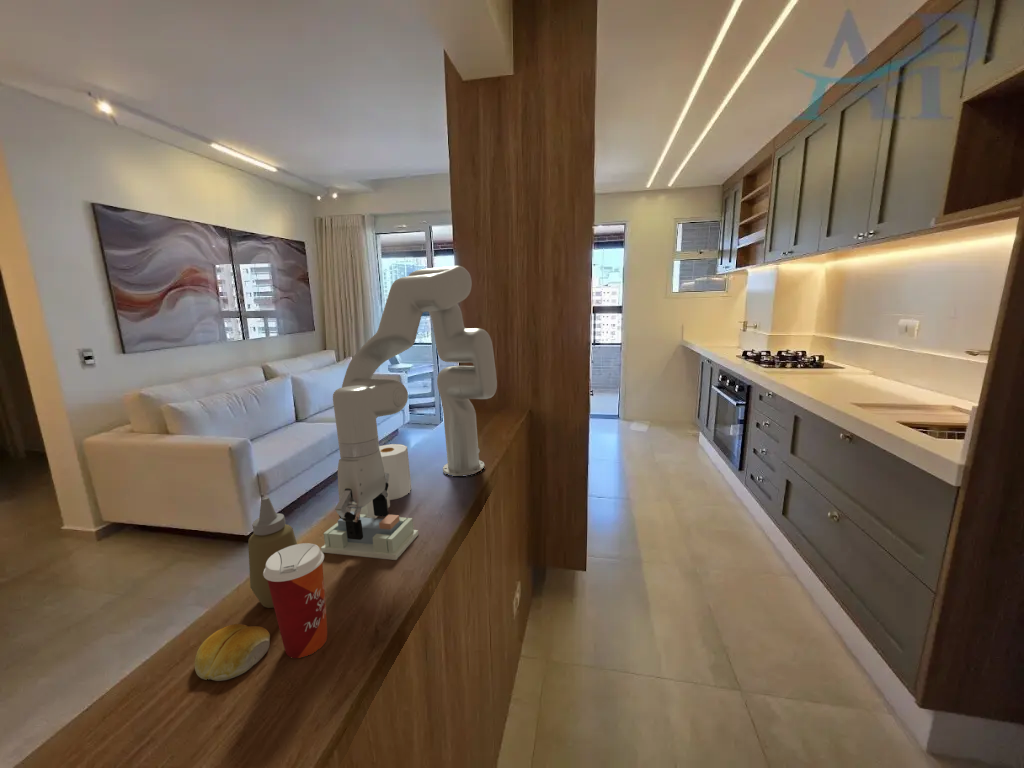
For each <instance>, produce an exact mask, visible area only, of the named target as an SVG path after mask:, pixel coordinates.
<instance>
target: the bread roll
mask: <svg viewBox="0 0 1024 768" xmlns="http://www.w3.org/2000/svg"><path fill="white" fill-rule="evenodd" d="M270 638H271V634H270V632H269V631H268V630H267V628H266V627H265V628H264V627H263V626H255V625H254V626H253V625H252V626H248V625H247V624H243V623H232V624H228V625H227V626H224V627H222V628H219V629H218V630H216V631H214V632H213V633H211V635H209V636H208V637H207V638H206V639H204V641H202V643H201V645H199V648H198V650H197V652H196V655H195V659H194V670H195V673H196V675H197V676H198V677H199V678H200V679H201V680H206V681H207V679H208V680H212V681H214V682H215V681H216V682H220V681H221V682H222V681H228V680H231V679H233V678H236V677H238V676H242V675H243V674H245V673H246V672H248V671H249V670H250V669H251V668H252V667H254V666H255V665H256V664H257V663H258V662H259V661H260V660H261V659H262V658H263V657H264V656H265V654H267V652H268V651H269V648H270Z"/></svg>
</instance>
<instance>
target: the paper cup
mask: <svg viewBox="0 0 1024 768" xmlns="http://www.w3.org/2000/svg"><path fill="white" fill-rule="evenodd" d="M324 559H325V554H324V553H323V552H322V551H321V547H320V546H318V545H317V544H315V543H308V542H302V543H297V544H296V545H292V546H289V547H286V548H284V549H282V550H280V551H277V552H276V553H274V554H273V555H272V556H270V558H269V559H268V560H267V562H266V567H265V569H264V572H263V576H264V578H265V579H267V581H268V585H269V589H270V593H271V597H272V601H273V605H274V608H273V609H274V612H275V613H274V614H275V616H276V621H277V625H278V629H279V633H280V637H281V640H282V644H283V648H284V651H285V654H286V655H287V656H288V657H289V658H291V657H292V658H291V659H302V658H301V657H303V658H305V657H304V656H307V657H309V656H311V655H313V654H315V653H317V652H318V651H319V650H320V649H321V648H323V646H324V645H325V643H326V642H327V639H328V620H327V605H326V595H325V594H326V593H325V592H326V591H325V582H324V581H325V580H324V566H323V562H324ZM318 649H319V650H318ZM317 650H318V651H317ZM314 652H315V653H314ZM312 653H313V654H312ZM310 654H311V655H310ZM308 655H309V656H308Z"/></svg>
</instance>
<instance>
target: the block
mask: <svg viewBox="0 0 1024 768" xmlns="http://www.w3.org/2000/svg"><path fill="white" fill-rule="evenodd" d="M387 493H388V496H387V505H388V509H389V508H390V507H391V500H389V491H388V489H387ZM352 504H354V505H357V503H355V502H352ZM351 511H352V512H355V509H353V508H351ZM360 514H364V515H366V518H377V519H378V517H379V516H375V515H374V508H373V500H372V501H370V502H369V503H368V504H367V505H365V506H364V507H362V508H361V512H360Z"/></svg>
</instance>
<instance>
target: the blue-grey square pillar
mask: <svg viewBox="0 0 1024 768" xmlns="http://www.w3.org/2000/svg"><path fill="white" fill-rule="evenodd" d="M350 513H352V514H353V515H354V512H352V511H351V512H350ZM399 517H400V515H399V514H388V515H387V516H386V517H385V516H384V518H378V517H377V518H364V517H360V516H359V520H361V523H362V531H363V538H362V539H361V540H357V539H349V538H348V537H347V541H348V542H353V543H364V544H373V537H374V536H375V535H376V534H386V535H390V536H391V535H392V534H393V533H394V532H395V531H396V530H397V529H398V528H399V527H400V526H401V523H400V519H399ZM337 522H338V527H339V530H340V531H346V533H347V530H346V522H345V521H343V519H341V518H340V517H339V519H338V520H337Z"/></svg>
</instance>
